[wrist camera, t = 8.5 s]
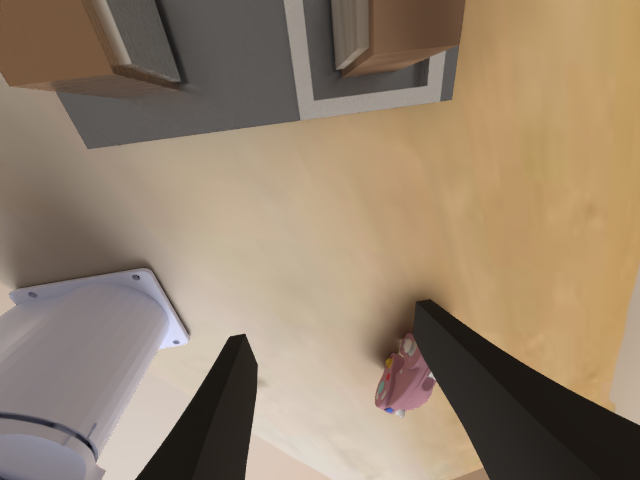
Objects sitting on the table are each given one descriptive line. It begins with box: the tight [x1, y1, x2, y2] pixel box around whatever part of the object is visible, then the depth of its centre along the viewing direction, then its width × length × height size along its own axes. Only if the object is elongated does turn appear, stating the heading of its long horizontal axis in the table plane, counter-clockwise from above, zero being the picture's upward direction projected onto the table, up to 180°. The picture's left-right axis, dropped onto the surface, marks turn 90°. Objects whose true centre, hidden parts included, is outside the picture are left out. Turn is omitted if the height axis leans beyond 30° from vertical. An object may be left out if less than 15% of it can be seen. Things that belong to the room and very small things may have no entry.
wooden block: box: [331, 0, 465, 78], centre depth 9 cm, size 3×4×5 cm
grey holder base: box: [0, 0, 459, 149], centre depth 9 cm, size 20×8×6 cm, turn 97°
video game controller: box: [375, 333, 436, 418], centre depth 23 cm, size 10×5×7 cm, turn 158°
